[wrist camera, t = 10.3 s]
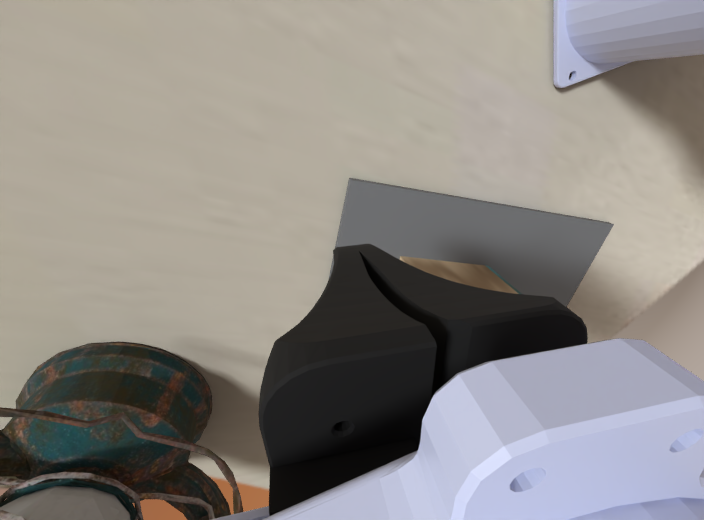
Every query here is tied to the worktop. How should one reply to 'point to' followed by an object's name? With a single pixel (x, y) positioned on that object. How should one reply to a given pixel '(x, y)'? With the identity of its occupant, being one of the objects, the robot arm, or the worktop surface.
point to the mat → (474, 235)
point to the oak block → (463, 273)
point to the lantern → (109, 438)
